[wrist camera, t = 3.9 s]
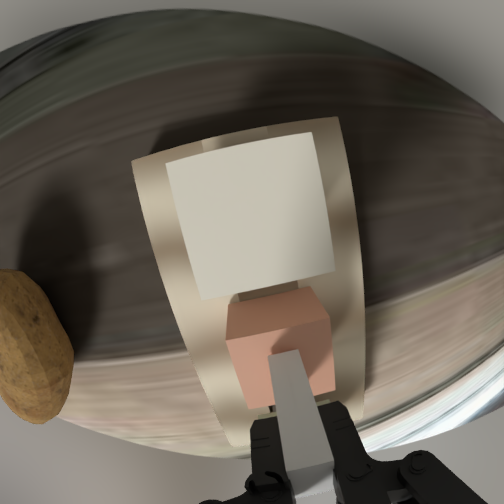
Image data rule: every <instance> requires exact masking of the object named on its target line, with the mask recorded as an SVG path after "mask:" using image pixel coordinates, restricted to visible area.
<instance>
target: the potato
mask: <svg viewBox="0 0 504 504" xmlns="http://www.w3.org/2000/svg"><path fill="white" fill-rule="evenodd" d="M73 365H74V351H73V348H72V346H71V343H70V340H69V338H68V336H67V334H66V332H65V330H64V329H63V327H62V325H61V323H60V321H59V319H58V317H57V315H56V313H55V311H54V309H53V307H52V305H51V303H50V301H49V299H48V297H47V296H46V294H45V293H44V291H43V290H42V289H41V287H40V286H39V285H38V284H36V283H35V282H34V281H33V280H32V279H30V278H29V277H28V276H27V275H26V274H25V273H24V272H22V271H17V270H12V269H0V395H1V397H2V399H3V400H4V402H5V403H6V404H7V405H8V406H9V408H10V409H11V410H12V411H13V412H14V413H15V414H17V415H18V416H19V417H20V418H22V419H23V420H26V421H28V422H30V423H33V424H44V423H45V422H47V421H48V420H50V419H52V418H53V417H55V416H56V415H58V414H59V412H60V411H61V409H62V407H63V405H64V403H65V401H66V399H67V396H68V394H69V389H70V383H71V378H72V371H73Z"/></svg>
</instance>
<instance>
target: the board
mask: <svg viewBox="0 0 504 504" xmlns="http://www.w3.org/2000/svg"><path fill="white" fill-rule="evenodd" d="M308 132H312V136H313V141H314V145H315V150H316V154H317V159H318V164H319V169H320V174H321V179H322V185H323V190H324V196H325V201H326V207H327V213H328V220H329V226H330V233H331V240H332V247H333V254H334V262H335V270H336V271H333V272H329V273H325V274H321V275H316V276H312V277H308V278H304V279H299V280H295V281H291V282H286V283H282V284H278V285H273V286H269V287H264V288H260V289H255V290H250V291H246V292H241V293H236V294H231V295H226V296H222V297H217V298H212V299H207V300H202V301H201V297H200V294H199V291H198V287H197V284H196V281H195V277H194V274H193V270H192V267H191V263H190V260H189V256H188V253H187V249H186V245H185V242H184V238H183V234H182V230H181V227H180V223H179V219H178V215H177V211H176V207H175V203H174V199H173V195H172V190H171V186H170V182H169V177H168V173H167V169H166V164H165V163H168V162H172V161H175V160H179V159H182V158H186V157H190V156H194V155H197V154H201V153H205V152H209V151H213V150H218V149H222V148H226V147H231V146H235V145H240V144H245V143H250V142H255V141H260V140H265V139H270V138H276V137H282V136H288V135H294V134H301V133H308ZM131 163H132V168H133V173H134V177H135V182H136V186H137V191H138V195H139V199H140V203H141V207H142V211H143V215H144V219H145V223H146V226H147V230H148V234H149V237H150V241H151V244H152V248H153V251H154V255H155V258H156V261H157V264H158V268H159V271H160V274H161V277H162V280H163V283H164V286H165V289H166V292H167V295H168V298H169V301H170V304H171V307H172V310H173V313H174V315H175V318H176V321H177V324H178V326H179V329H180V332H181V334H182V337H183V340H184V342H185V345H186V347H187V350H188V352H189V355H190V357H191V360H192V362H193V365H194V367H195V369H196V372H197V374H198V376H199V379H200V381H201V383H202V386H203V388H204V390H205V392H206V395H207V397H208V399H209V401H210V403H211V406H212V408H213V410H214V412H215V414H216V416H217V418H218V420H219V422H220V424H221V426H222V428H223V430H224V432H225V434H226V436H227V438H228V440H229V442H230V444H231V446H232V447H237V446H245V445H251V444H250V442H251V441H250V428H251V426H252V424H253V422H254V420H258V415H261V414H266V413H272V412H273V408H271V406H266V407H260V408H254V409H248V406H247V403H246V401H245V398H244V395H243V392H242V389H241V386H240V383H239V380H238V378H237V375H236V372H235V369H234V366H233V363H232V360H231V356H230V353H229V350H228V347H227V344H226V341H225V339H226V325H227V312H228V304H232V303H237V302H241V301H246V300H251V299H256V298H260V297H265V296H269V295H274V294H278V293H283V292H287V291H292V290H296V289H300V288H304V287H309V286H311V288H312V290H313V291H314V293H315V294H316V296H317V297H318V299H319V301H320V302H321V304H322V305H323V307H324V309H325V310H326V312H327V313H328V315H329V317H330V324H331V334H332V346H333V359H334V373H335V390H334V391H330V392H327V393H323V394H319V395H315V396H314V399H315V402H320V401H324V400H327V399H329V400H330V403H331V402H334V401H340V402H341V403H342V404H343V405H345V406H346V407H347V409H348V411H349V414H350V416H351V418H352V421H355V420H358V419H361V418H363V406H364V388H365V305H364V286H363V272H362V260H361V250H360V240H359V231H358V223H357V216H356V209H355V202H354V195H353V189H352V183H351V177H350V172H349V166H348V161H347V156H346V151H345V146H344V141H343V137H342V132H341V128H340V124H339V119H338V117H328V118H319V119H310V120H303V121H295V122H289V123H282V124H276V125H270V126H264V127H259V128H254V129H249V130H244V131H239V132H234V133H229V134H225V135H221V136H216V137H212V138H208V139H204V140H200V141H196V142H192V143H189V144H185V145H181V146H178V147H174V148H171V149H168V150H164V151H161V152H158V153H155V154H151V155H148V156H145V157H142V158H139V159H136V160H133V161H131Z"/></svg>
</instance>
